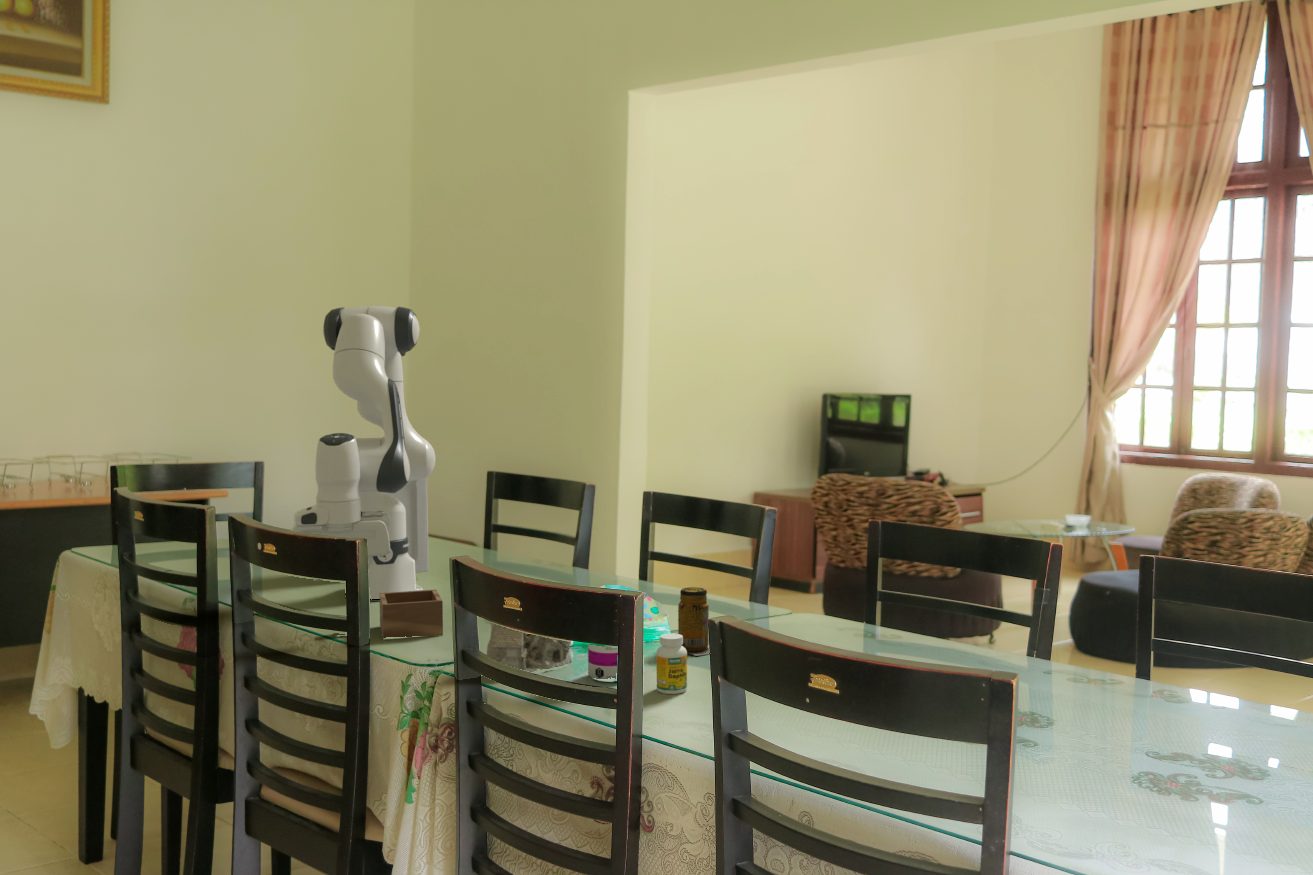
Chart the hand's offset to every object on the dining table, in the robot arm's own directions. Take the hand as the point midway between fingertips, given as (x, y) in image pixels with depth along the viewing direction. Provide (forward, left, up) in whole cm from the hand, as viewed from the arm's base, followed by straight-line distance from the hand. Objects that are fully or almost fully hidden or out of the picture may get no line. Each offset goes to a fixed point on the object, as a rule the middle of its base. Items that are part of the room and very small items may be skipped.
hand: (340, 578), depth 222 cm
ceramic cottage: (+33, +33, -13) cm, 48 cm away
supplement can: (+45, +46, -13) cm, 65 cm away
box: (+2, +14, -13) cm, 19 cm away
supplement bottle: (+56, +54, -13) cm, 79 cm away
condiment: (+32, +67, -13) cm, 75 cm away
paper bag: (-71, +13, -13) cm, 74 cm away
